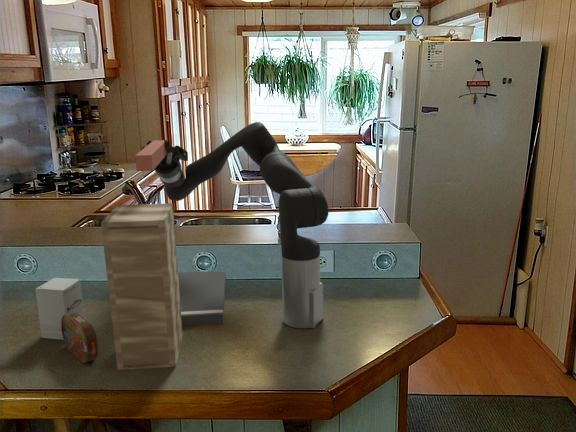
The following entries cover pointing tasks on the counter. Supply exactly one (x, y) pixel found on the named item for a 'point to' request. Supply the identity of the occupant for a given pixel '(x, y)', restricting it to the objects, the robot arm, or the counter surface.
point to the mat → (202, 297)
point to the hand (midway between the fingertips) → (157, 143)
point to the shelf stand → (143, 285)
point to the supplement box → (58, 304)
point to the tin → (79, 337)
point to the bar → (150, 156)
